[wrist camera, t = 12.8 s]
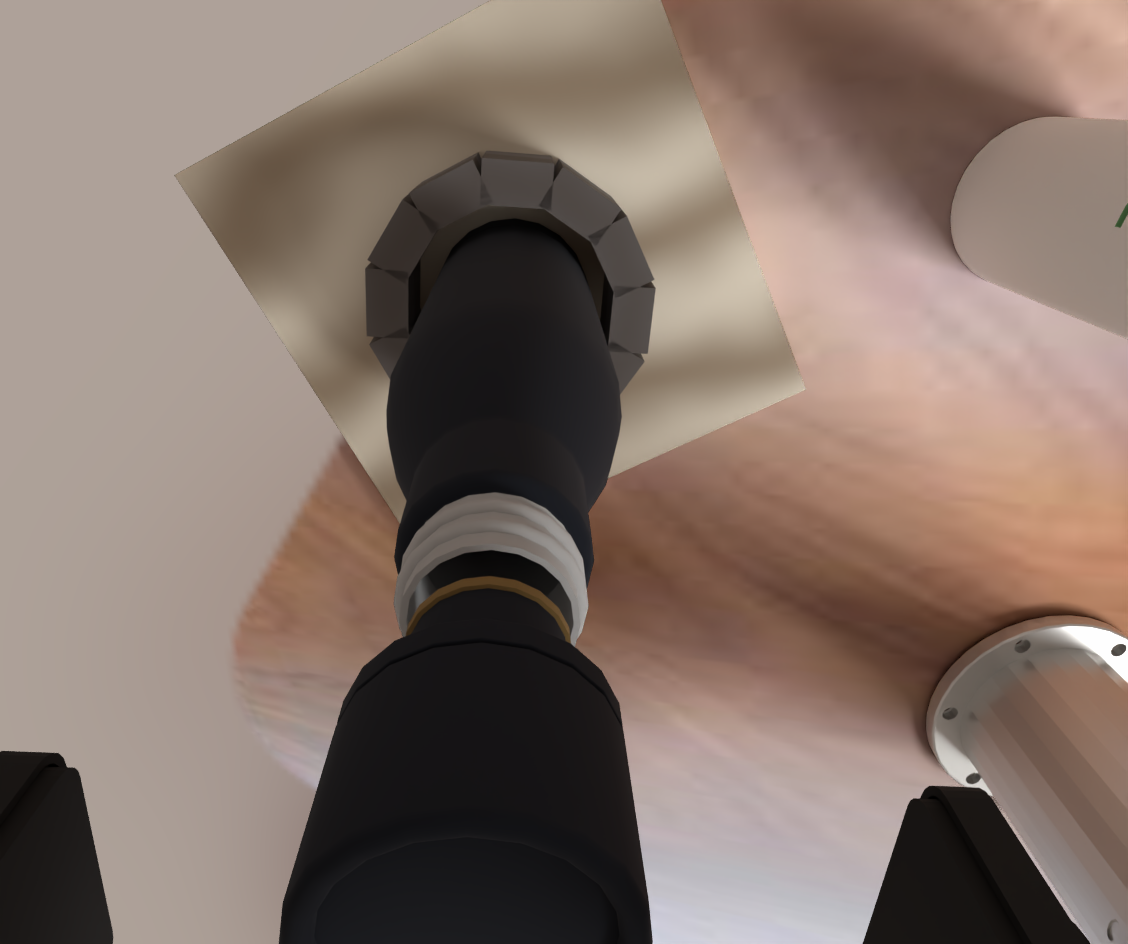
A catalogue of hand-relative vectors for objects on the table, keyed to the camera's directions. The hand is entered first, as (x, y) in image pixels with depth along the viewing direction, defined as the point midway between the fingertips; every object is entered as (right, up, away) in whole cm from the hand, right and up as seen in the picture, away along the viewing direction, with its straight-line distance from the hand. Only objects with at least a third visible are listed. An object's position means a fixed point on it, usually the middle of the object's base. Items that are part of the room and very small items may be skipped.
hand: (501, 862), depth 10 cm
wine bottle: (-1, +12, +26) cm, 29 cm away
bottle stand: (-2, +13, +27) cm, 30 cm away
